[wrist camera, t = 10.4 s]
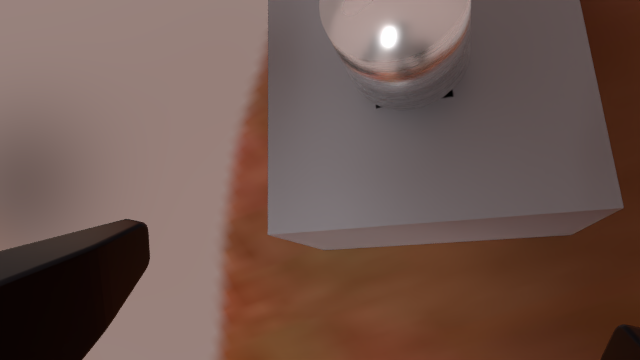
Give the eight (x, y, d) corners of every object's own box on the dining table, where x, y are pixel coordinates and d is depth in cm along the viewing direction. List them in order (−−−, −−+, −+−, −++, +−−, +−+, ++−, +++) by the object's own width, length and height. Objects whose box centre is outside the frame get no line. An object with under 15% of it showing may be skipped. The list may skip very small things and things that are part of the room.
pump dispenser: (577, 234, 16) (632, 207, 11) (323, 250, 20) (268, 234, 14) (536, 9, 19) (564, -106, 14) (317, 53, 22) (268, -26, 17)
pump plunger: (473, 157, 17) (480, 42, 9) (384, 167, 18) (321, 72, 10) (463, 75, 18) (462, -93, 10) (379, 90, 19) (317, -52, 11)
